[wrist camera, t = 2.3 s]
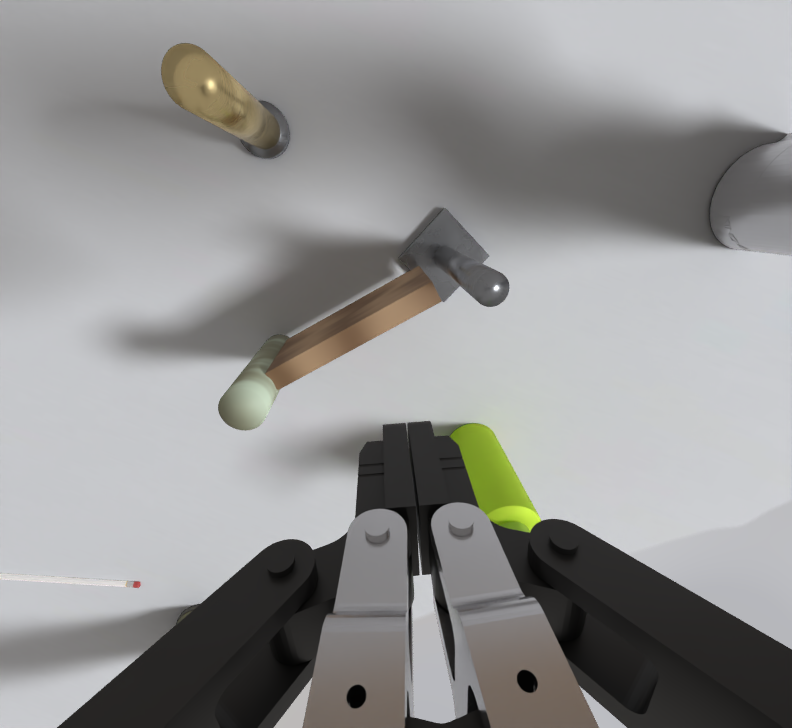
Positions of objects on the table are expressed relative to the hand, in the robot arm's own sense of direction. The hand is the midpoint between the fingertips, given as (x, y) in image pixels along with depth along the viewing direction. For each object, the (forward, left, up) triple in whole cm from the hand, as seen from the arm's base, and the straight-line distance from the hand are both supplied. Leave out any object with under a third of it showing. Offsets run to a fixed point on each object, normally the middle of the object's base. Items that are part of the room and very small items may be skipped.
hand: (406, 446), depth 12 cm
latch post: (-3, -16, -27) cm, 31 cm away
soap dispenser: (+7, +20, -27) cm, 35 cm away
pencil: (+55, -5, -28) cm, 62 cm away
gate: (+5, -1, -25) cm, 26 cm away
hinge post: (-6, +2, -27) cm, 28 cm away
